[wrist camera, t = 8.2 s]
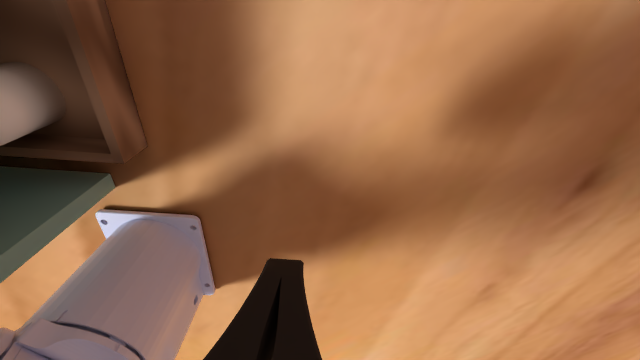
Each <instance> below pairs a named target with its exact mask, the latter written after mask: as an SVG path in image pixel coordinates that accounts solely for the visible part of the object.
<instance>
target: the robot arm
mask: <svg viewBox="0 0 640 360" xmlns="http://www.w3.org/2000/svg"><path fill="white" fill-rule="evenodd" d="M95 215H96V218H97V220H98V222H99V224H100V227H101V229H102V231H103V233H104V235H105V237H106V240H105V241H104V242H103V243H102V244H101V245H100V246H99V247H98V249H97V250H96V251H95V252H94V253H93V254H92V255H91V256H90V257H89V258H88V259H87V260H86V261H85V262H84V263H83V264H82V265H81V266H80V267H79V268H78V269H77V270H76V271H75V272H74V273H73V274H72V275H71V276H70V277H69V278H68V279H67V280H66V282H65V283H64V284H63V285H62V286H61V287H60V288H59V289H58V290H57V291H56V292H55V293H54V294H53V295H52V296H51V297H50V298H49V299H48V300H47V301H46V302H45V303H44V304H43V305H42V306H41V307H40V308H39V309H38V310H37V311H36V312H35V313H34V315H33V316H32V317H31V318H30V319H29V320H28V321H27V322H26V323H25V324H24V325H23V326H22V327H21V328H19V329H18V330H16V331H12V330H9V329H7V328H0V360H174V359H175V357H176V355H177V353H178V351H179V349H180V347H181V344H182V342H183V340H184V337H185V335H186V333H187V331H188V328H189V326H190V324H191V322H192V319H193V317H194V315H195V312H196V310H197V308H198V306H199V303H200V301H201V299H202V297H203V295H213V294H214V292H215V285H214V281H213V276H212V272H211V267H210V263H209V258H208V253H207V249H206V244H205V240H204V235H203V231H202V226H201V221H200V219H199V218H198V217H197V216H194V215H182V214H167V213H152V212H136V211H121V210H106V209H101V210H99V211H98V212H96V214H95ZM194 226H195V227H194ZM303 264H304V263H303V262H302V261H301V260H287V259H271V258H270V259H268V260H267V262H266V264H265V267H264V269H263V271H262V273H261V275H260V277H259V278H258V280H257V282H256V284H255V286H254V287H253V289H252V291H251V292H250V294H249V296H248V297H247V299H246V300H245V302H244V304H243V305H242V307H241V308H240V310H239V312H238V313H237V314H236V316H235V317H234V319H233V320H232V322H231V323H230V325H229V326H228V327H227V329H226V330H225V332H224V333H223V335H222V336H221V337H220V339H219V340H218V341H217V343H216V344H215V345H214V346H213V348H212V349H211V350H210V352H209V353H208V354H207V355H206V357H205V358H204V359H203V360H322V358H321V355H320V351H319V348H318V345H317V341H316V338H315V334H314V331H313V327H312V323H311V319H310V314H309V310H308V305H307V300H306V294H305V287H304V278H303Z"/></svg>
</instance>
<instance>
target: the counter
mask: <svg viewBox="0 0 640 360" xmlns="http://www.w3.org/2000/svg"><path fill="white" fill-rule="evenodd" d="M114 188H115V185H114V182H113V180H112V177H111V175H110V174H109V173H94V172H79V171H64V170H49V169H34V168H19V167H4V166H0V283H1V282H2V281H4V280H5V279H6V278H7V277H8V276H10V275H11V274H12V273H13V272H14V271H16V270H17V269H18V268H19V267H20V266H22V265H23V264H24V263H25V262H26V261H28V260H29V259H30V258H31V257H32V256H34V255H35V254H36V253H37V252H38V251H40V250H41V249H42V248H43V247H44V246H46V245H47V244H48V243H49V242H50V241H52V240H53V239H54V238H55V237H57V236H58V235H59V234H60V233H61V232H63V231H64V230H65V229H66V228H67V227H69V226H70V225H71V224H72V223H73V222H75V221H76V220H77V219H78V218H79V217H81V216H82V215H83V214H84V213H85V212H87V211H88V210H89V209H90V208H91V207H93V206H94V205H95V204H96V203H97V202H99V201H100V200H101V199H102V198H103V197H105V196H106V195H107V194H108V193H109V192H111V191H112V190H113V189H114Z"/></svg>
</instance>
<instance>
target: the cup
mask: <svg viewBox="0 0 640 360" xmlns="http://www.w3.org/2000/svg"><path fill="white" fill-rule="evenodd" d="M65 111H66V104H65V100H64V97H63V94H62V93H61V91H60V89H59V88H58V86H57V85H56V84H55V83H54V81H53V80H52V79H51V78H50V77H48V76H47V75H46V74H45V73H43V72H42V71H40V70H39V69H37V68H35V67H33V66H31V65H29V64H26V63H22V62H7V63H1V64H0V146H2V145H4V144H6V143H9V142H11V141H13V140H15V139H18V138H20V137H22V136H25V135H27V134H29V133H32V132H34V131H36V130H38V129H41V128H43V127H45V126H48V125H50V124H52V123H55V122H57V121H59V120H60V119H61V118H62V117H63V116H64V114H65Z"/></svg>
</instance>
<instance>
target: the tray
mask: <svg viewBox="0 0 640 360" xmlns="http://www.w3.org/2000/svg"><path fill="white" fill-rule="evenodd" d="M7 62H22V63H26V64H29V65H31V66H33V67H35V68H37V69H39V70H40V71H42V72H43V73H45V74H46V75H47V76H48V77H50V78H51V79H52V80H53V81H54V83H55V84H56V85H57V86H58V88H59V89H60V91H61V93H62V94H63V97H64V100H65V104H66V111H65V114H64V116H63V117H62V118H61V119H60V120H59V121H57V122H55V123H52V124H50V125H48V126H45V127H43V128H41V129H38V130H36V131H34V132H32V133H29V134H27V135H25V136H22V137H20V138H18V139H15V140H13V141H11V142H9V143H6V144H4V145H2V146H0V155H3V156H18V157H33V158H47V159H62V160H77V161H91V162H106V163H121V164H125V163H126V162H127V161H129V160H130V159H131V158H133V157H134V156H135V155H137V154H138V153H139V152H141V151H142V150H143V149H145V148H146V147H147V142H146V139H145V136H144V132H143V129H142V125H141V122H140V119H139V115H138V112H137V108H136V105H135V102H134V98H133V95H132V91H131V88H130V85H129V81H128V78H127V74H126V71H125V68H124V64H123V61H122V57H121V54H120V51H119V47H118V44H117V40H116V37H115V34H114V30H113V27H112V23H111V20H110V17H109V13H108V10H107V6H106V3H105V0H0V64H1V63H7Z"/></svg>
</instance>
